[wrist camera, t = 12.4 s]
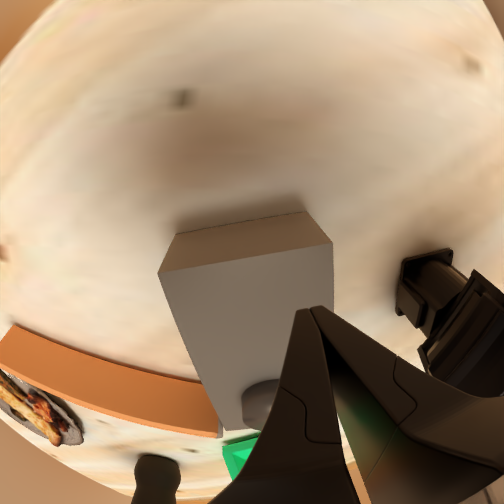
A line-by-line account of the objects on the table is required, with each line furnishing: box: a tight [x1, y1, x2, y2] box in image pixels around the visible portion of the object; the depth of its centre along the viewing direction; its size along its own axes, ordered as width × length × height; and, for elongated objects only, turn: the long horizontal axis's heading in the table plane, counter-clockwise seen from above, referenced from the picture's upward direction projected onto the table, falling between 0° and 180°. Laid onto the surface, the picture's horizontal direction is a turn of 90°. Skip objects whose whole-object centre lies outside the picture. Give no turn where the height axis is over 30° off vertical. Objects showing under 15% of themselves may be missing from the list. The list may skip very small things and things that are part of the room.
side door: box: [0, 325, 223, 438], centre depth 23 cm, size 2×27×6 cm, turn 74°
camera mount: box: [223, 437, 258, 481], centre depth 32 cm, size 12×8×10 cm, turn 29°
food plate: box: [0, 369, 84, 447], centre depth 30 cm, size 25×23×4 cm
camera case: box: [157, 211, 334, 431], centre depth 21 cm, size 10×18×8 cm, turn 9°
